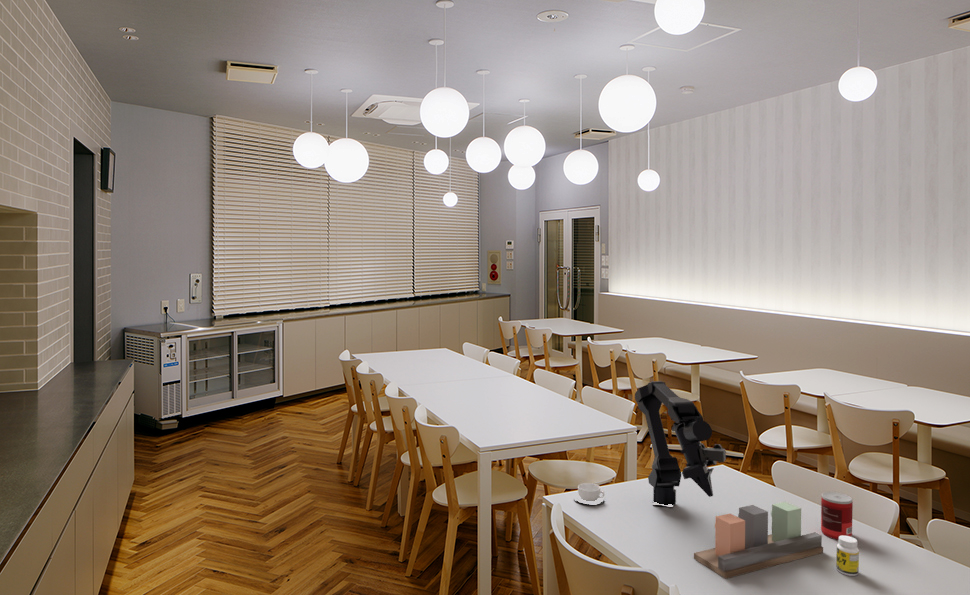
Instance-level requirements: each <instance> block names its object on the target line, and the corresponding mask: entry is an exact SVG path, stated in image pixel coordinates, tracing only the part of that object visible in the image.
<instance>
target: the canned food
mask: <svg viewBox="0 0 970 595" xmlns="http://www.w3.org/2000/svg"><path fill="white" fill-rule="evenodd" d="M853 502H854V501H853V498H852V497H851V496H850V495H847V494H845V493H842V492H838V491H837V492H836V491H824V492H822V493H821V500H820V505H821V506H820V508H821V510H820V512H821V514H820V517H821V518H820V520H821V521H820V530H821V532H822V534H823V535H824V536H826V537H828V538H830V539H834V540H839V536H842V535H844V536H850V537H853V508H854V507H853Z"/></svg>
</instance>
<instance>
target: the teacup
mask: <svg viewBox="0 0 970 595" xmlns="http://www.w3.org/2000/svg"><path fill="white" fill-rule="evenodd" d="M577 492H578V495H579V496H580V497H581V499H583V500H586V501H595V500H597V499H598V498H604V497H605V492H604V491H603V490H601V486H600V485H599V484H595V483H592V482H584V483H580V484H578V486H577ZM601 493H602V496H601V497H600V494H601Z"/></svg>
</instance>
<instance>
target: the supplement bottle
mask: <svg viewBox="0 0 970 595" xmlns="http://www.w3.org/2000/svg"><path fill="white" fill-rule="evenodd" d="M837 540H838V539H837ZM859 561H860V550H859V548H858V540H857V538H854V537H853V536H851V537H850V536H844V535H842V536H839V540H838V543H837V545H836V564H835V566H836V570H837V571H838V573H840V574H843V575H845V576H848V577H854V576H855V577H856V576H858V575H859V572H860V571H859V565H860V562H859Z"/></svg>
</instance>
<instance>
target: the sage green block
mask: <svg viewBox="0 0 970 595" xmlns="http://www.w3.org/2000/svg"><path fill="white" fill-rule="evenodd" d="M770 516H771V534H772V541H774V542H777V541H781V540H785V539H789V538H794V537H798V536H802V507H799V506H797V505H795V504H792V503H790V502H787V501H781V502H777V503H773V504H771V510H770Z"/></svg>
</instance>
